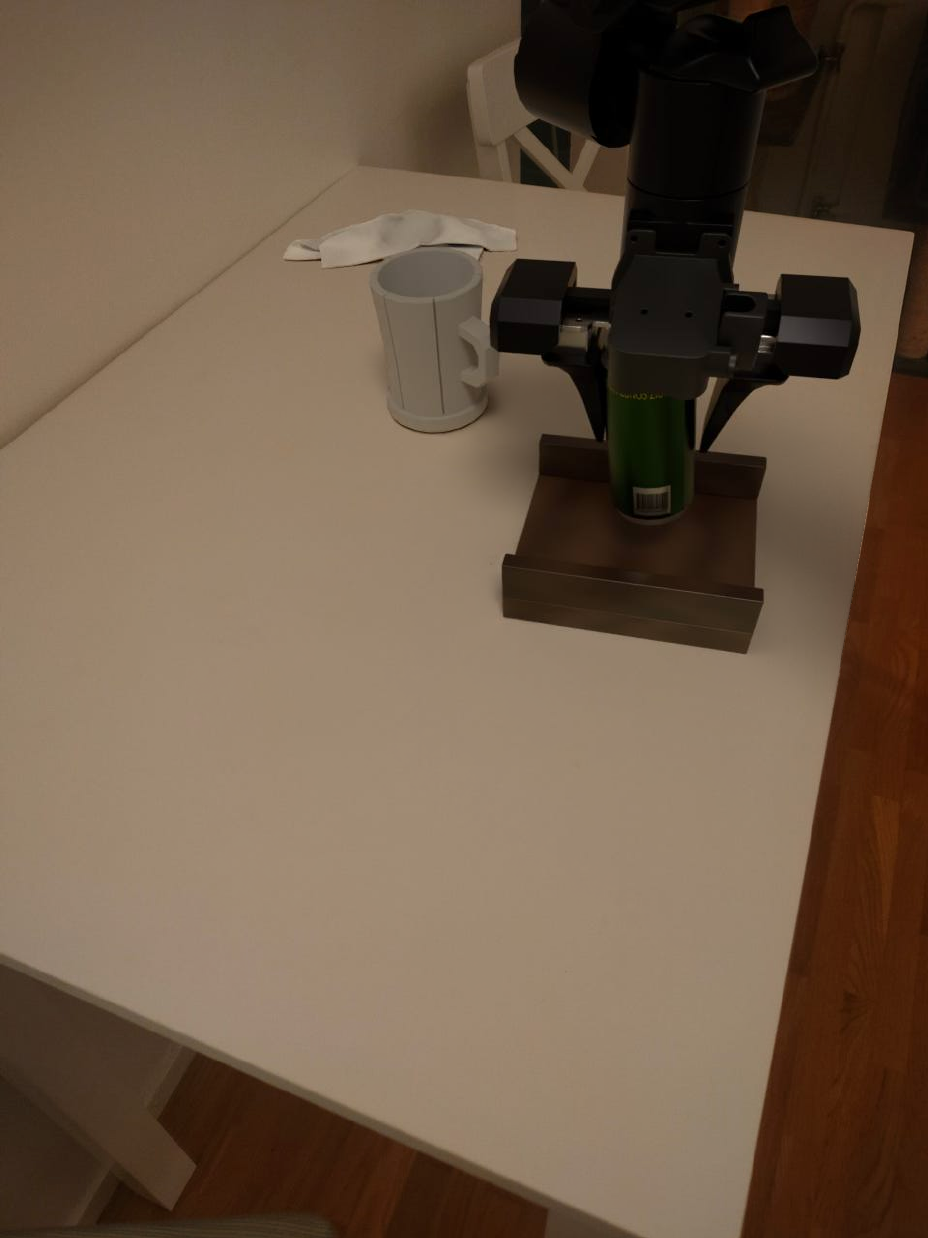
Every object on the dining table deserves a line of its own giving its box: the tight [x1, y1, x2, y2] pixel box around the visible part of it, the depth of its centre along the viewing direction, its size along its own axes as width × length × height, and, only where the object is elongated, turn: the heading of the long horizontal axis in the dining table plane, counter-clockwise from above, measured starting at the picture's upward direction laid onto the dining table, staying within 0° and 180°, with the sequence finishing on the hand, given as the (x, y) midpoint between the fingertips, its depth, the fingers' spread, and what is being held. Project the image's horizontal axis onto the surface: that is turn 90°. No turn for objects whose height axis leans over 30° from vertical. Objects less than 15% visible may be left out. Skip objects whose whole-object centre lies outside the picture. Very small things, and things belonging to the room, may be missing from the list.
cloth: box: [282, 208, 518, 270], centre depth 92 cm, size 26×14×2 cm, turn 80°
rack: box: [500, 433, 768, 655], centre depth 57 cm, size 16×14×5 cm
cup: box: [368, 247, 501, 434], centre depth 67 cm, size 10×9×12 cm
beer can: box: [600, 328, 698, 525], centre depth 50 cm, size 5×5×12 cm
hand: (650, 443), depth 51 cm, fingers closed on beer can, 6 cm apart
